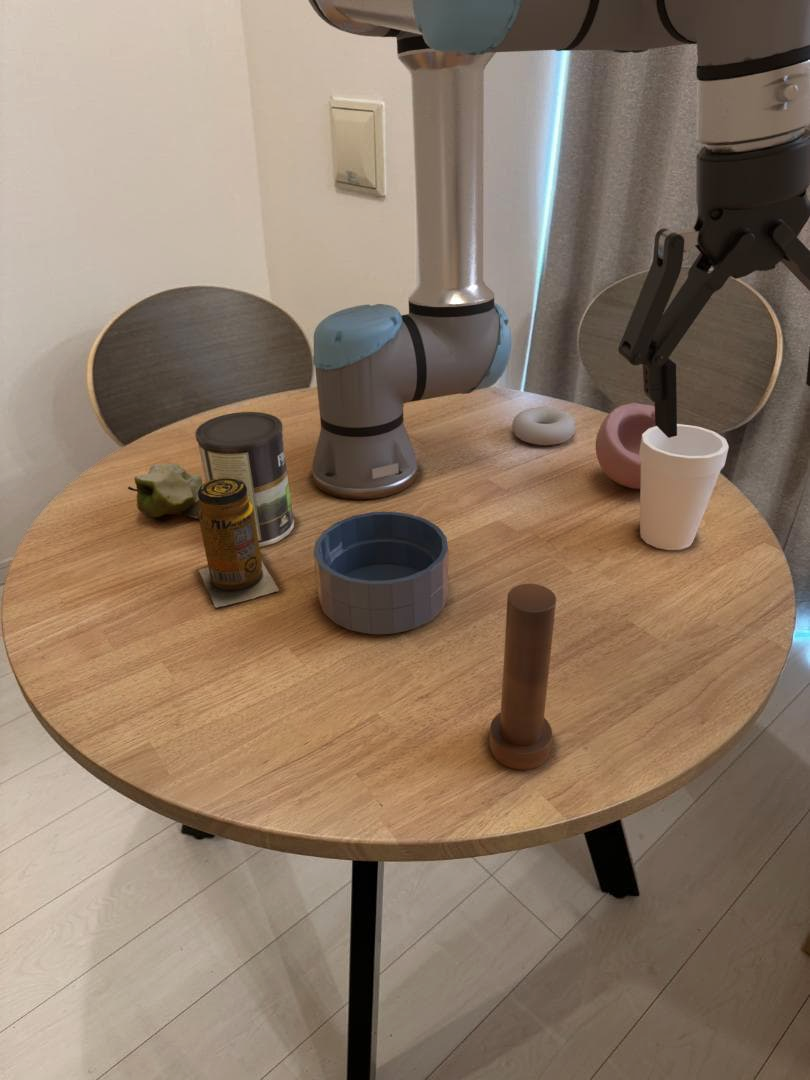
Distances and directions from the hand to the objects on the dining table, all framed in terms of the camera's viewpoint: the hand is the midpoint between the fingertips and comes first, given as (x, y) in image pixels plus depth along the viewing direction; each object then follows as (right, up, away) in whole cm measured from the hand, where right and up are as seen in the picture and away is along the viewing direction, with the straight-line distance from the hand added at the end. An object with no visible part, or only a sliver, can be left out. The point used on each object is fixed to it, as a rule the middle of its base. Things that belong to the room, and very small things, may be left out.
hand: (742, 410), depth 63 cm
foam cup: (+3, -11, +28) cm, 30 cm away
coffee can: (-49, -10, +33) cm, 59 cm away
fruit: (-61, -7, +37) cm, 71 cm away
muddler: (-19, -29, 0) cm, 35 cm away
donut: (-7, +5, +54) cm, 55 cm away
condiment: (-49, -16, +22) cm, 56 cm away
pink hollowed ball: (+3, -3, +40) cm, 40 cm away
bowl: (-31, -18, +19) cm, 41 cm away
